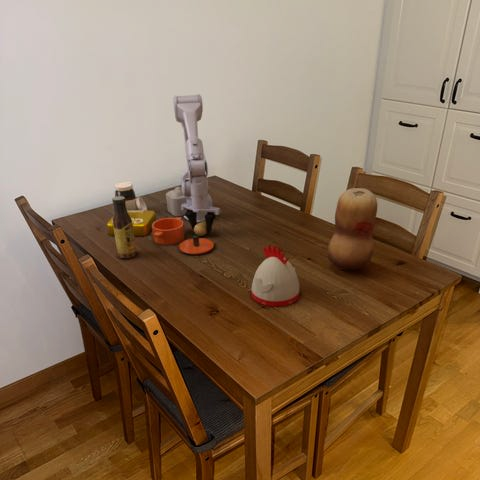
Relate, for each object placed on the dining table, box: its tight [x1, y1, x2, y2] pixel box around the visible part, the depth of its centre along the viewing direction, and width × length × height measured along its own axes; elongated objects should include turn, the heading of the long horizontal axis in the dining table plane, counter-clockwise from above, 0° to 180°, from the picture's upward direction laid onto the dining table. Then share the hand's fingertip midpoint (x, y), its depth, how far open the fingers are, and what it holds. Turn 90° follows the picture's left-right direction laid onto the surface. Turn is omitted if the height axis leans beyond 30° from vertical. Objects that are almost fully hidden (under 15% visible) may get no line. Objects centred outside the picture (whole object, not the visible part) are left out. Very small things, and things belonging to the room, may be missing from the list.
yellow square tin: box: [106, 209, 157, 237], centre depth 179 cm, size 15×15×5 cm
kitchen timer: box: [250, 243, 300, 307], centre depth 133 cm, size 14×14×15 cm
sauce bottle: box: [111, 196, 137, 259], centre depth 155 cm, size 7×6×20 cm
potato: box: [193, 220, 208, 237], centre depth 172 cm, size 7×5×5 cm, turn 157°
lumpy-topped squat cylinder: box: [165, 186, 187, 217], centre depth 192 cm, size 10×13×9 cm
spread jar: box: [114, 181, 148, 210], centre depth 189 cm, size 12×11×12 cm
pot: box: [151, 216, 186, 246], centre depth 170 cm, size 11×17×5 cm
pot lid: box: [178, 234, 215, 255], centre depth 163 cm, size 12×12×4 cm
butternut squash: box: [327, 187, 378, 272], centre depth 142 cm, size 14×13×25 cm
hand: (202, 230), depth 173 cm, fingers open, 5 cm apart
